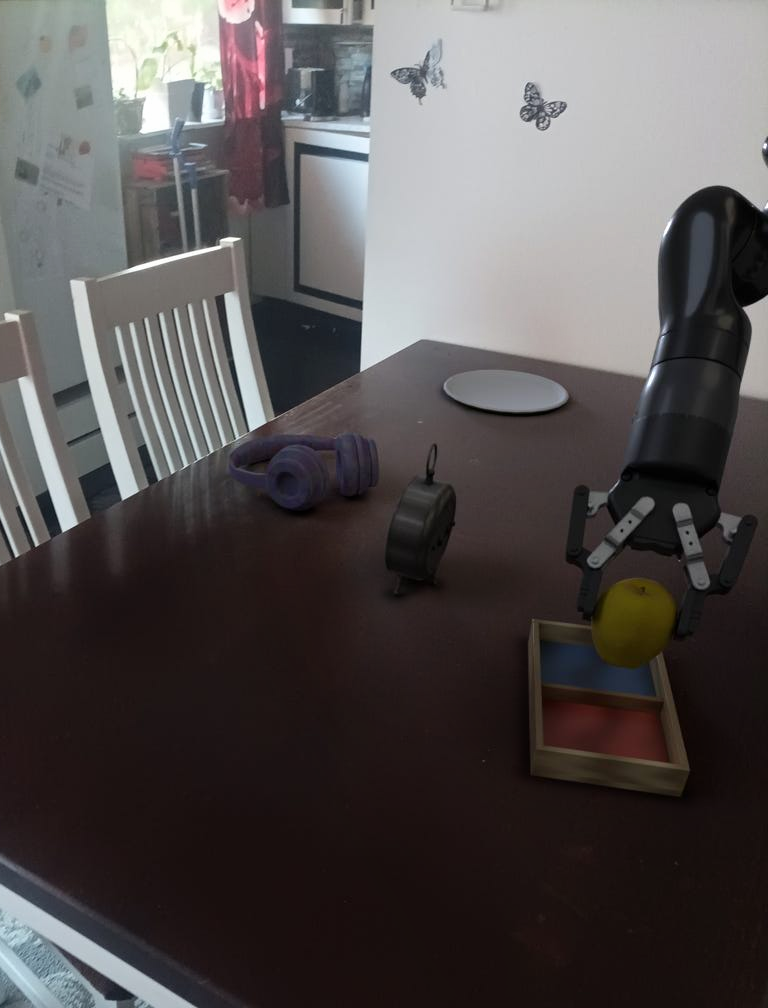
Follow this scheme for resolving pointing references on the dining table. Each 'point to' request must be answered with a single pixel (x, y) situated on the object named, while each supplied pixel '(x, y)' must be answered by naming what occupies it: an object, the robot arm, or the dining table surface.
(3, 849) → the dining table surface
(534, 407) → the plate
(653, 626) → the apple
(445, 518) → the alarm clock
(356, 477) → the headphones
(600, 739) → the sorting tray
